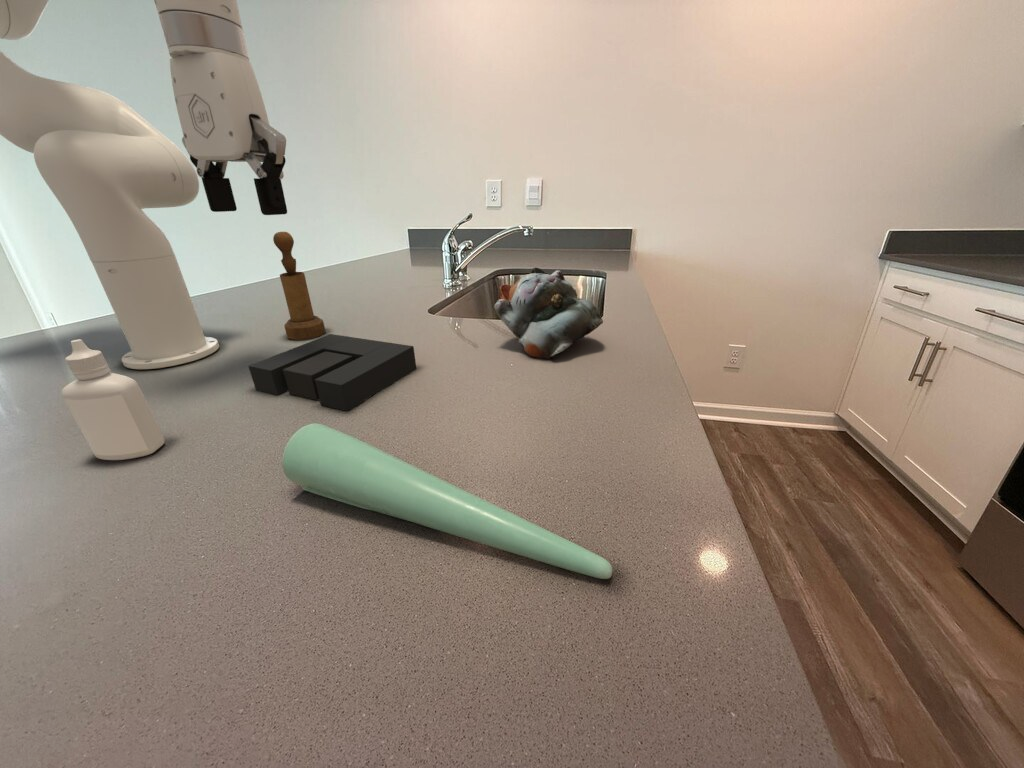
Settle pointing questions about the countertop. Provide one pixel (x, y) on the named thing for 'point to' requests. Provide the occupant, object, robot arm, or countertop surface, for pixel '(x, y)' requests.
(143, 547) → the countertop surface
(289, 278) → the mortar and pestle
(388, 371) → the dark grey u-shaped block
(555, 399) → the countertop surface
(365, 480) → the long green cone
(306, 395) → the dark grey block
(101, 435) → the eye dropper bottle
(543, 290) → the lucky cat figurine
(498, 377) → the countertop surface
